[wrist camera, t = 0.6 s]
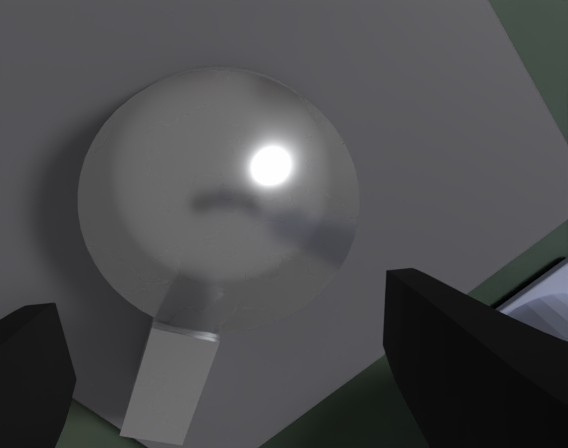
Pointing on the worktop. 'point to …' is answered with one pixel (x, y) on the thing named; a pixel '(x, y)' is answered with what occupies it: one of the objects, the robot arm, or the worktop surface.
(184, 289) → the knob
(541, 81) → the worktop surface
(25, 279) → the base plate
